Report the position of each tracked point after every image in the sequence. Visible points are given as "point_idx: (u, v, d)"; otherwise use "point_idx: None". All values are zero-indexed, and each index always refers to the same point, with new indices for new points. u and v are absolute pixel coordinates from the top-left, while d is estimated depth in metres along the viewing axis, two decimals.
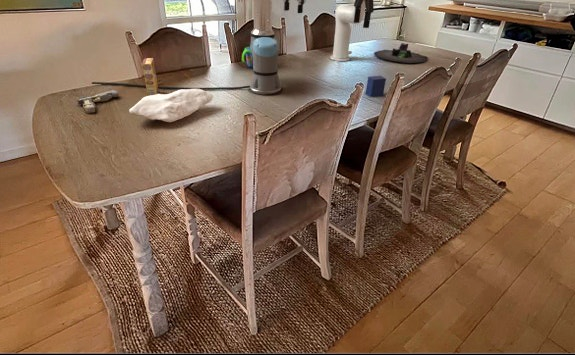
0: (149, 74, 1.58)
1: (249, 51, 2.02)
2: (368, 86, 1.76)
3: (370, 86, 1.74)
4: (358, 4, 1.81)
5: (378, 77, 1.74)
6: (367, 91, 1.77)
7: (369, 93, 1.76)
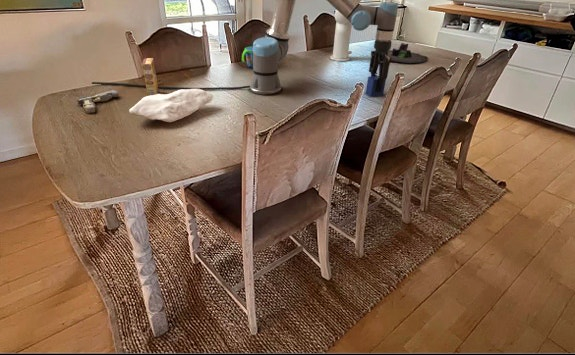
0: (149, 74, 1.58)
1: (249, 51, 2.02)
2: (368, 86, 1.76)
3: (370, 86, 1.74)
4: (374, 69, 1.74)
5: (378, 77, 1.74)
6: (367, 91, 1.77)
7: (369, 93, 1.76)
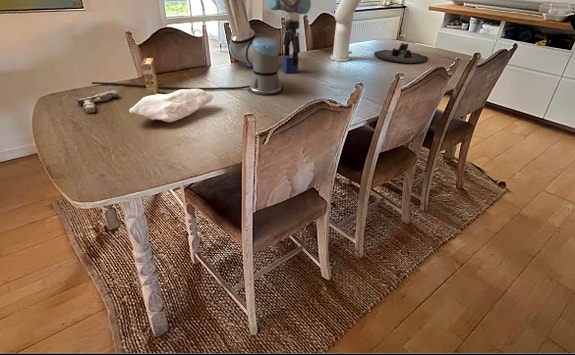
0: (149, 74, 1.58)
1: None
2: (284, 64, 2.03)
3: (285, 64, 2.01)
4: (287, 43, 2.02)
5: (292, 56, 2.01)
6: (284, 69, 2.04)
7: (285, 70, 2.03)
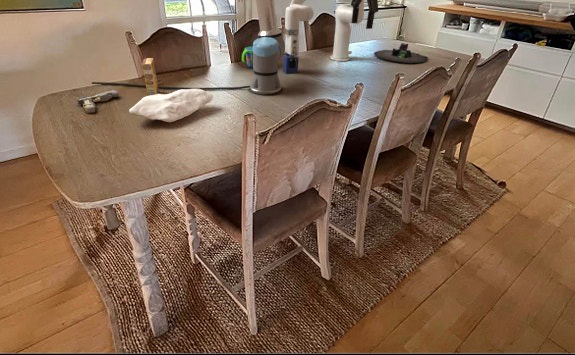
0: (149, 74, 1.58)
1: (249, 51, 2.02)
2: (284, 64, 2.03)
3: (285, 64, 2.01)
4: (356, 3, 1.67)
5: (292, 56, 2.01)
6: (284, 69, 2.04)
7: (285, 70, 2.03)
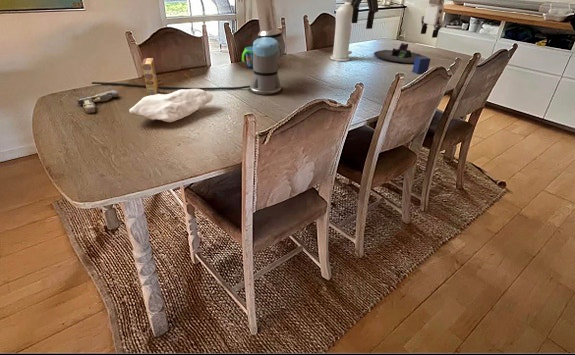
0: (149, 74, 1.58)
1: (249, 51, 2.02)
2: (415, 65, 2.11)
3: (417, 64, 2.10)
4: (356, 3, 1.67)
5: (424, 57, 2.10)
6: (414, 69, 2.13)
7: (416, 71, 2.12)
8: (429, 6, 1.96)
